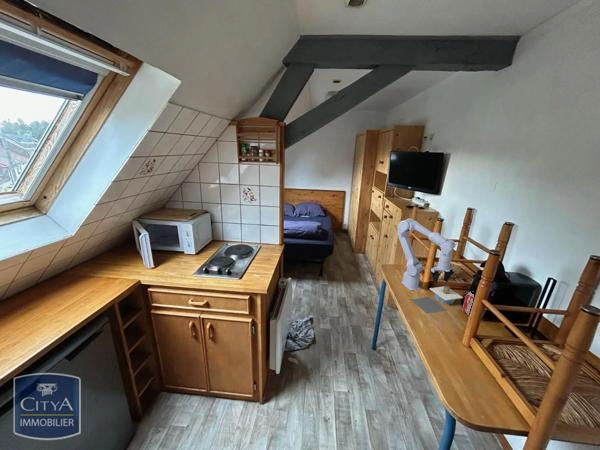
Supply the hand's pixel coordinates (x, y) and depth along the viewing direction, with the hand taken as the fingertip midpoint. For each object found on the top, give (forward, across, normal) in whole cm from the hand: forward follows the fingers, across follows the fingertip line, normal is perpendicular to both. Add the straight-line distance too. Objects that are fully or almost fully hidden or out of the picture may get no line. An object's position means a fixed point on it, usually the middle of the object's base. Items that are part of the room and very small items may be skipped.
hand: (440, 281), depth 142 cm
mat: (+10, -11, -6) cm, 16 cm away
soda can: (+11, +6, -17) cm, 21 cm away
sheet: (+6, +3, -3) cm, 8 cm away
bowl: (+10, +3, -3) cm, 11 cm away
